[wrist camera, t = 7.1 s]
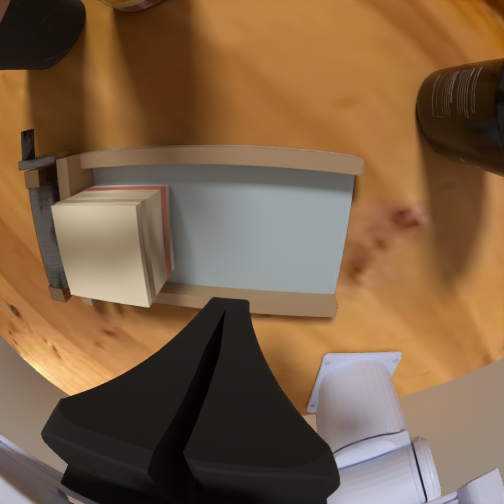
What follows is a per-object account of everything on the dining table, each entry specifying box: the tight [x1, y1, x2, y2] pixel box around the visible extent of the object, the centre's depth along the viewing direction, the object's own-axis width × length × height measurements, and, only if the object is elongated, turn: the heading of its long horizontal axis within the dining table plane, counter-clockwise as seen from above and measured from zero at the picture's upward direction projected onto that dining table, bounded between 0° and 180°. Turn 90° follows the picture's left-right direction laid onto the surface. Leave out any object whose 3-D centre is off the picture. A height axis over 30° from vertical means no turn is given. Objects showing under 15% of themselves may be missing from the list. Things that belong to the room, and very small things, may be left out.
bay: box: [56, 145, 364, 317], centre depth 18 cm, size 11×19×4 cm, turn 88°
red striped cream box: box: [51, 184, 175, 307], centre depth 17 cm, size 6×6×5 cm
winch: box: [18, 129, 73, 303], centre depth 17 cm, size 13×4×5 cm, turn 178°
